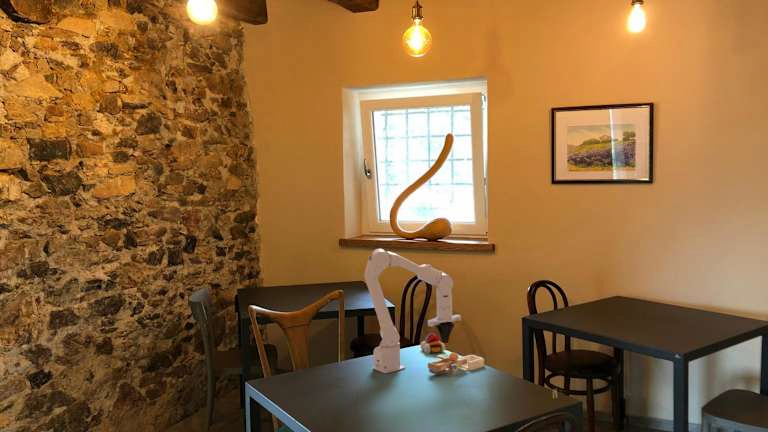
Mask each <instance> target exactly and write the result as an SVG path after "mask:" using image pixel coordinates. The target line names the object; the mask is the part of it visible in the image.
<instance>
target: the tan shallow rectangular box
mask: <svg viewBox="0 0 768 432" xmlns="http://www.w3.org/2000/svg"><path fill="white" fill-rule="evenodd" d="M459 358H460V359H465V358H466V359H467V364H463V365H459V366H457V370H459V371H460V370H461V371H464V372H467V371H473V370H476V369H480V368H484V367H485V358H483V357H481V356H477V355H475V354H468V355H464V356H461V357H459Z"/></svg>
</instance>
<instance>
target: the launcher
mask: <svg viewBox="0 0 768 432" xmlns="http://www.w3.org/2000/svg"><path fill="white" fill-rule="evenodd" d="M449 356H450V354H446V353H441V354H437V355H436V358H437V359H438V360H434V361H431V362H430V361H429V362H427V369H428V373H431V374H434V375H436V376H438V375H444V374H443V373H446V369H448V368H450V365H451V364H455V363H456V364H457V366H459V365H463V364H467V359H466V358H465V359H460V357H459V355H458V360H457V361H451V360H450V358H449ZM441 359H442V360H441Z"/></svg>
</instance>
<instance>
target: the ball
mask: <svg viewBox="0 0 768 432" xmlns="http://www.w3.org/2000/svg"><path fill="white" fill-rule="evenodd" d="M458 356H459V354H458V353H456V352H451V353H449V358H450V360H451V361H457V360H458Z"/></svg>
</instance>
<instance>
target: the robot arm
mask: <svg viewBox="0 0 768 432" xmlns="http://www.w3.org/2000/svg"><path fill="white" fill-rule="evenodd" d="M367 259H368V260H367V263H366V267H365V271H364V274H363V275H364V280H365V283H366V286H367V289H368V292H369V296H370V298H371V301H372V304H373V306H374V307H373V308H374V311H375V313H376V316H377V319H378V322H379V327H380V328H379V329H380V330H379V334H380V337H381V338H382V340H381V341H380V342H379V346H377V347H375V348H374V349H373V352H372V353H373V357H372V358H373V366H372V369H373V370H376V371H377V372H380V373H381V374H388V373H391V372H392V373H393V372H397V371H400V370H404V369H406V366H403V365H401V349H400V347H401V345H400V344H401V343H400V339H401V338H400V334H399V332H398V330H397V327H396V326H395V325H394V323H393V321H392V318H391V315H390V311H389V309H388V306H387V303H386V299H385V297H384V293H383V290H382V287H381V284H380V281H379V277H380V276H381V274H382V272H383V271H384V270H385V269H387V268H388V267H391V268H392V267H396V266H398V267H401V268H403V269H405V270H407V271H410V272H412V273H415V275H416V276H417V279H419V280H421V281H422V282H425V283H427V284H429V285H432V286H435V287H436V293H435V295H436V297H435V298H436V317H434V318H432V319H428V320H427V326H428V327H434V326H435V328H436V329H437V330H438V333H439V336H440V339H441V343H443V344H448V343H449V340H450V337H451V333H452V331H453V329H454V327H455V323H454V322H456V321H462V315H460V314H453V294H452V289H453V286H454V281H453V279H452V277H451V276H449V274H447V273H446V272H443V270H438V269H435V268H434V267H432V265H431V264H429V263H427V264H425V263H424V264H421V265H419V264H417V263H415V262H413V261H411V260H409V259H407V258H405V257H403V256H401V255H399V254H398V253H395V252H392V251H388V250H387V251H386V250H385V249H383V248H376V249H374V250H373V251H372V252H371V254H369V256H368V258H367Z"/></svg>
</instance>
